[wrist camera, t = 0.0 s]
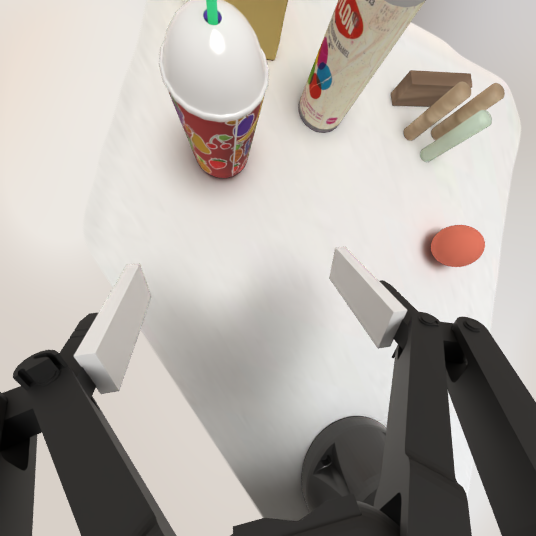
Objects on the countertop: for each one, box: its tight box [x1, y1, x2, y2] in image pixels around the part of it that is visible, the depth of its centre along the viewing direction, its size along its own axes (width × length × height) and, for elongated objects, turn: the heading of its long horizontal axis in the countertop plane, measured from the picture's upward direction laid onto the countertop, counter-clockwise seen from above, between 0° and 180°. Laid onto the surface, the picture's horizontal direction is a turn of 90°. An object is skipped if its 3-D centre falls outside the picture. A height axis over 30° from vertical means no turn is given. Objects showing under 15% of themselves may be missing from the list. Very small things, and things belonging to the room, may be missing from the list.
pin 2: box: [431, 83, 504, 140], centre depth 33 cm, size 2×2×8 cm
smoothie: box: [159, 0, 269, 178], centre depth 22 cm, size 8×8×20 cm
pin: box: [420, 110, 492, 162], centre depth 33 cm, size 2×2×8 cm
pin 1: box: [404, 81, 471, 140], centre depth 32 cm, size 2×2×8 cm
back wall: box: [391, 70, 472, 107], centre depth 35 cm, size 2×10×4 cm, turn 96°
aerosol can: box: [299, 0, 426, 133], centre depth 24 cm, size 7×7×20 cm
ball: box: [431, 225, 485, 267], centre depth 33 cm, size 6×6×6 cm
